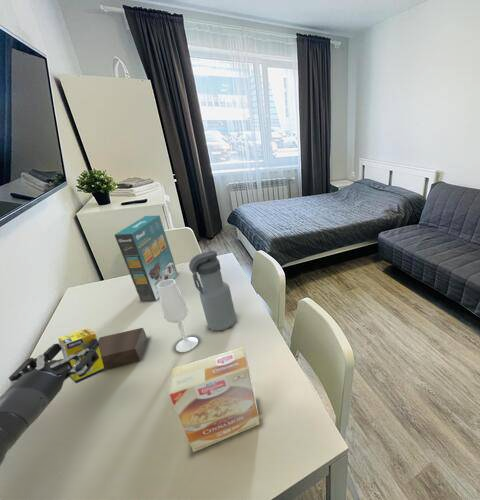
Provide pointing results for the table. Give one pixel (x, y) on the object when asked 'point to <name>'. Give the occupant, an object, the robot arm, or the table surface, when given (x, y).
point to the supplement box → (77, 344)
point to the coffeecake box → (214, 398)
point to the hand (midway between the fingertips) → (77, 343)
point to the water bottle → (213, 291)
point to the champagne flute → (175, 311)
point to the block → (122, 348)
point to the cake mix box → (147, 255)
